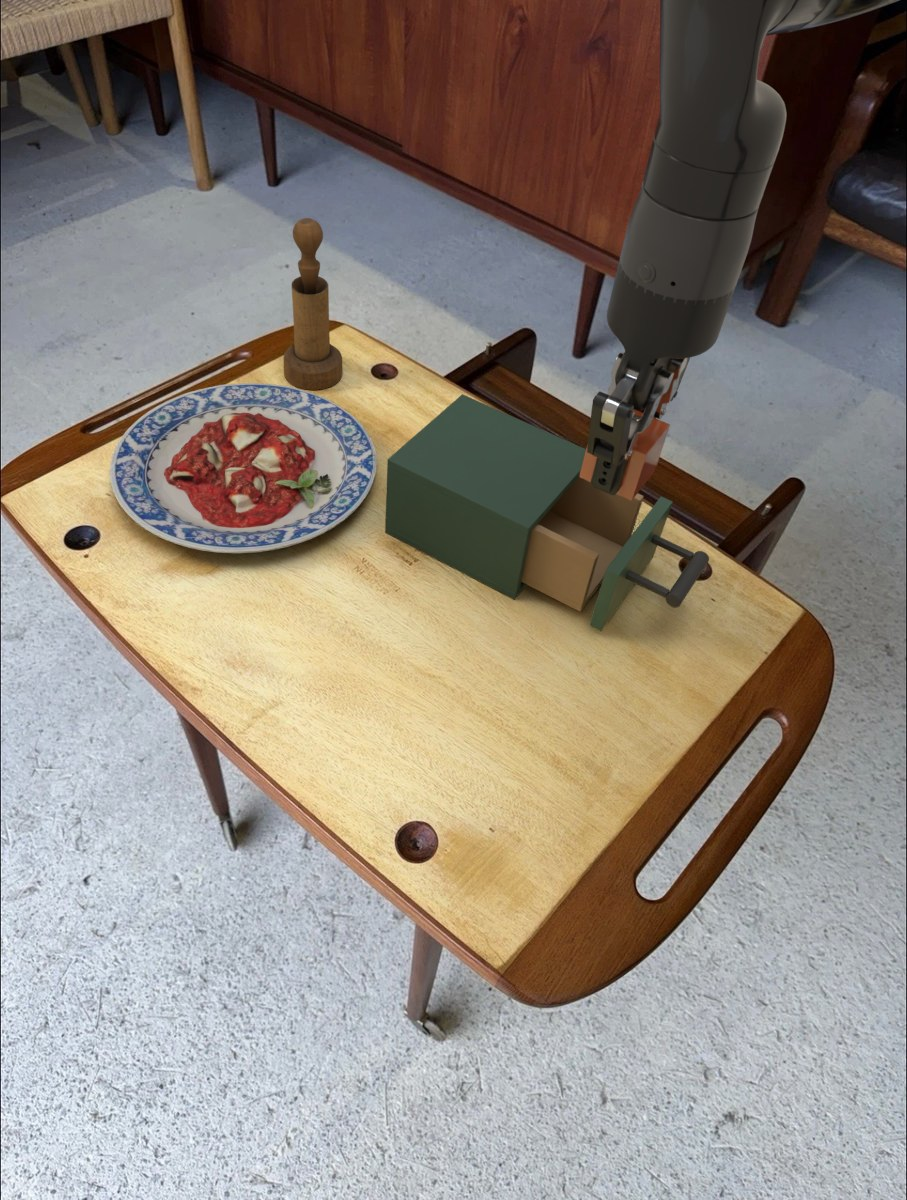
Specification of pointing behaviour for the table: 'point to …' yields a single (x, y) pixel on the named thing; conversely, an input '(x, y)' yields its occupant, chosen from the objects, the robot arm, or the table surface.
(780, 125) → the robot arm
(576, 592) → the drawer
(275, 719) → the table surface
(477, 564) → the cabinet
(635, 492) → the block
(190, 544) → the ceramic plate
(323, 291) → the mortar and pestle
